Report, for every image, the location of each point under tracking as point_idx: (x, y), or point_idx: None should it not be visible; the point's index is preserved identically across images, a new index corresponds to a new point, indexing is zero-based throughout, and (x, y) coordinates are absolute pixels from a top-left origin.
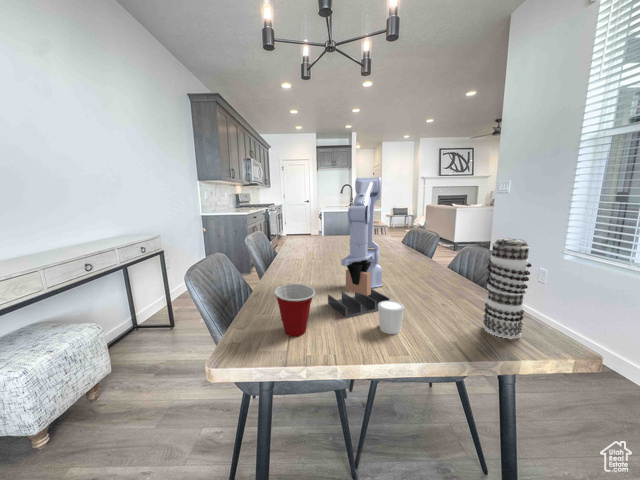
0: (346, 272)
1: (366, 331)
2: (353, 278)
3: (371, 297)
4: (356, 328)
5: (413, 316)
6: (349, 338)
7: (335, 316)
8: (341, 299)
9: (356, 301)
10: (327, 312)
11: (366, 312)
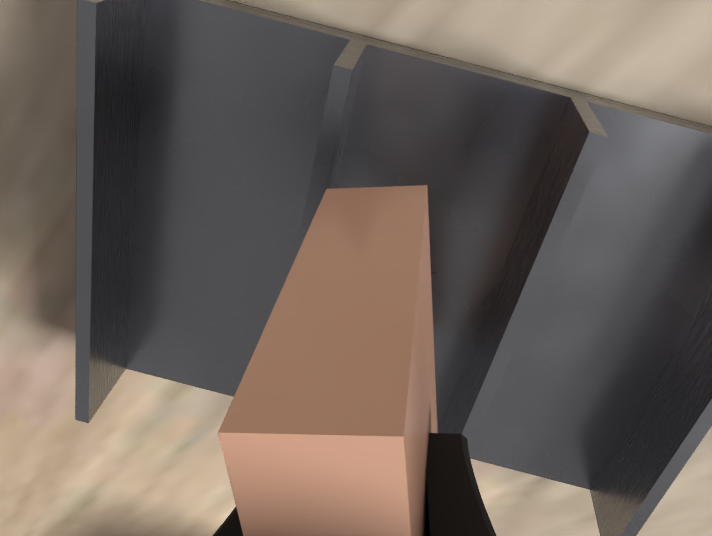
0: (249, 397)
1: (142, 530)
2: None
3: (698, 268)
4: (108, 479)
5: None
6: (3, 510)
7: (63, 274)
8: (336, 50)
9: None
10: (31, 163)
11: None
